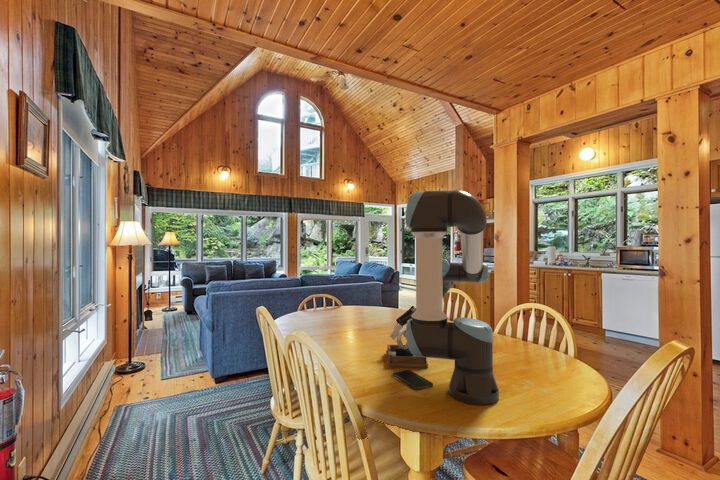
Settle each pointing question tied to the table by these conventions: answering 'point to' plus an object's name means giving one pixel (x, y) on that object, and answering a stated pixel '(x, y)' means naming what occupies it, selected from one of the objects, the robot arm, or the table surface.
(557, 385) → the table surface
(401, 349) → the watch
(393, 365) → the walnut tray
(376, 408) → the table surface
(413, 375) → the phone
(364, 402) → the table surface
